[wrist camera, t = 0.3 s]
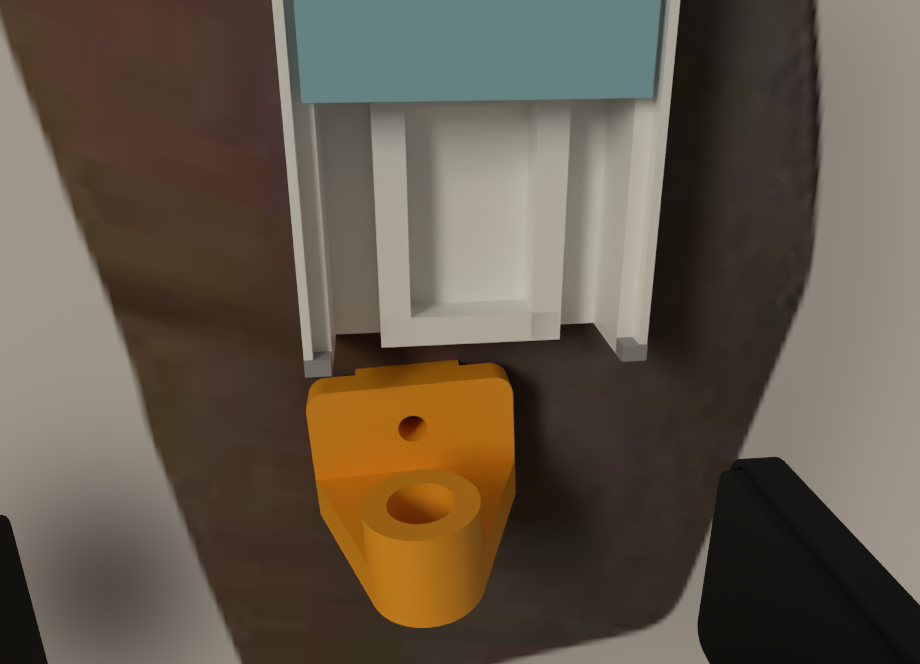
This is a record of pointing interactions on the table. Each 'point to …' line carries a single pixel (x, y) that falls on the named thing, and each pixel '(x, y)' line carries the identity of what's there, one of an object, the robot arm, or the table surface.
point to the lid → (475, 49)
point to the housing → (474, 212)
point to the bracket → (416, 481)
